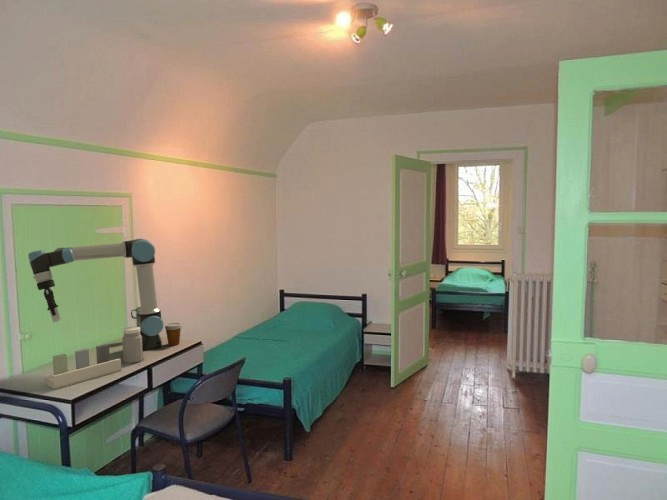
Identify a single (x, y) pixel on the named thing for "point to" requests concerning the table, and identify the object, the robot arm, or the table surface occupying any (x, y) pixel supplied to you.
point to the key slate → (82, 358)
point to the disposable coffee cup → (173, 333)
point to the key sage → (60, 364)
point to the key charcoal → (102, 353)
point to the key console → (83, 374)
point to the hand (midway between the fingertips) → (57, 320)
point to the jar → (132, 345)
